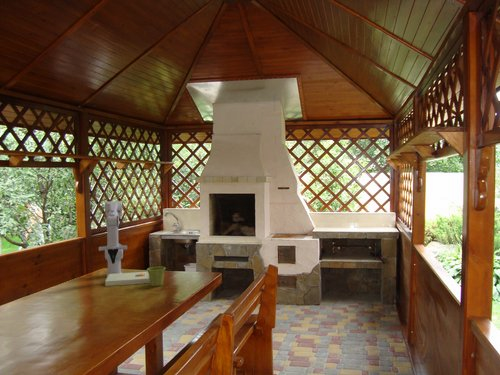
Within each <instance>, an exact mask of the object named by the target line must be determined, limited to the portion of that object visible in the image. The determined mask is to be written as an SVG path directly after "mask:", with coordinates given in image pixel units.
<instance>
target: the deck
mask: <svg viewBox="0 0 500 375" xmlns="http://www.w3.org/2000/svg"><path fill="white" fill-rule="evenodd" d="M139 274H144V276H139V277H138V275H139ZM104 283H105V287H111V286H128V285H140V284H141V285H142V284H144V283H145V284H150V278H149V273H148V271H138V272H137V271H136V272H135V271H134V272H122V273H117V274H109V275H108V277H106V279H105V281H104Z"/></svg>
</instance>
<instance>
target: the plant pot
mask: <svg viewBox="0 0 500 375" xmlns="http://www.w3.org/2000/svg"><path fill="white" fill-rule="evenodd" d="M165 270H166V267H165V266H153V267H151V266H150V267H148V268H147V269H146V271H147V272H148V273H149V278H150V283H149V284H150V286H151V287H158V286H159V287H160V286H162V285H163V284H164V276H165Z"/></svg>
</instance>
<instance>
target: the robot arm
mask: <svg viewBox="0 0 500 375" xmlns="http://www.w3.org/2000/svg"><path fill="white" fill-rule="evenodd" d="M104 211H105V212H104V213H105V225H106V231H107V232H106V234H107V235H106V237H107V240H106V241H107V242H106V244H107V245H106V246H99V247H98V251H100V252H101V251H104V258H105V260H106V261H107V275H106V278H107V277H108V275H109V274H117V273H123V271H122V262H121V260H122V259H123V258H124V250H128V245H126V244H125V245H122V244H121V243H119V226H120V217H122V215H123V201H122V200H118V201H116V200H115V201H113V200H111V201H109V200H108V201H106V200H105V202H104Z"/></svg>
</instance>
